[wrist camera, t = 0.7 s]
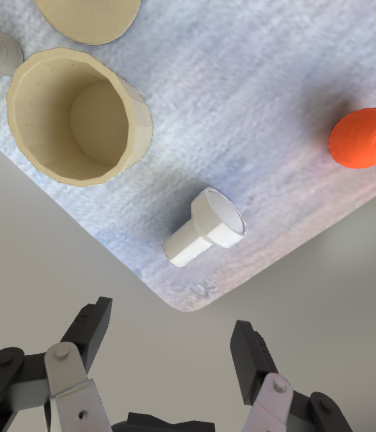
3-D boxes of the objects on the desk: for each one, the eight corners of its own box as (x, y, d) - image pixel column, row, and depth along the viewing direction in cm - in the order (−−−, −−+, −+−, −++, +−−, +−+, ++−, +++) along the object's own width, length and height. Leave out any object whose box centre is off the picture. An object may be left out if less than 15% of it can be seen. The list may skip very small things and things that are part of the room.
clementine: (374, 96, 29) (430, 86, 22) (382, 148, 31) (435, 152, 24) (311, 125, 30) (347, 123, 23) (323, 172, 32) (359, 183, 25)
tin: (90, 55, 27) (34, 13, 17) (169, 114, 30) (159, 106, 20) (53, 137, 31) (-11, 141, 21) (126, 184, 33) (100, 207, 23)
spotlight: (251, 218, 33) (250, 244, 26) (198, 258, 38) (184, 289, 31) (214, 178, 33) (202, 193, 25) (165, 224, 38) (143, 247, 30)
